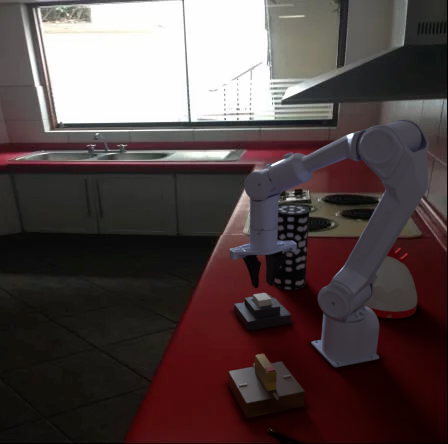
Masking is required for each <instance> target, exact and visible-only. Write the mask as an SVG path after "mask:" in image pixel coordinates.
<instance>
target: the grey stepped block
mask: <svg viewBox="0 0 448 444" xmlns="http://www.w3.org/2000/svg"><path fill="white" fill-rule="evenodd" d="M266 294H267V295H268V296H269V297H270V298H271V305H268V306H262V307H258V306H257V305H256V304H255V303H254V302H253V296H248V297H244V302H238V303H234V307H233V308H234V309H233V311H234V314H235V315H236V316H237V318H238V319H239V320H240V322H241V323H242V325H243V326H244V327H245V329H246V330H247V331H253V330H259V329H265V328H270V327H276V326H283V325H288V324H291V323H292V313H290V312H289V311H288V310H287V308H286V307H284V305H282V303H280V302H279V301H278V300H277V298H275V297H272V296H271V295H270V294H269V293H266Z"/></svg>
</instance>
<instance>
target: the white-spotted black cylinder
mask: <svg viewBox="0 0 448 444" xmlns="http://www.w3.org/2000/svg"><path fill="white" fill-rule="evenodd" d="M310 212H311V211H310V208H309V207H307V206H303V205H299V204H282V205H278V234H277V241H291V240H292V241H294V242H295V243H297V249H296V252H291V251H287V252H283V253H282V254H283V255H284V256H285V261H284V263H283V264H282V265H281V267H280V268H279V270H278V272H277V275H276V278H275V281H274V284H273V286H275V287H277V288H279V289H284V290H300V289H302V288H303V287H305V286H306V279H307V265H308V264H307V262H308V245H309V243H308V242H309V228H310V227H309V226H310Z"/></svg>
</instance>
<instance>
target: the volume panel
mask: <svg viewBox="0 0 448 444" xmlns="http://www.w3.org/2000/svg"><path fill="white" fill-rule="evenodd" d="M270 363H271V365H272V366H273V367H274V369H275V370H276V372H277V378H276V390H271V391H267V390H266V389H265V387H264V386H263V384H262V382H261V381H260V379H259V378H258V376H257V375H256V373H255V362H254V363H252V365H253V366H250V367H245V368H240V369H234V370H229V371H228V387H229V389H230V391H231V392H232V394H233V396H234V399H235V400H236V402H237V404H238V405H239V407H240V409H241V411H242V413H243V415H244V416H245V418H246V419H250V418H255V417H260V416H265V415H270V414H275V413H279V412H284V411H288V410H293V409H298V408H302V407H304V406H305V394H306V391H305V390H304V388H303V387H302V385H301V384H300V383H299V382H298V381H297V379H296V378H295V376H294V375H293V374H292V373H291V372H290V370H289V369H288V368H287V367H286V365H285V364H284V362H283V361H277V362H270Z"/></svg>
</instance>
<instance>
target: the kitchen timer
mask: <svg viewBox="0 0 448 444" xmlns="http://www.w3.org/2000/svg"><path fill="white" fill-rule="evenodd" d="M394 245H395V244H394ZM394 245H393V246H392V248H391V249H390V251H389V253H388V254H387V256H386V258H385V259H384V261H383V263H382V264H381V266H380V267H379V269H378V271H377V272H376V275H377V279H376V280H375V282H374V286H373V288H374V292H373V296H372V297H371V299H370V300H368V301H367V302H365V303H366V304H365V306H366V307H369V308H370V309H372V310H373V312H374V313H375V314H376V316H377V318H378V317H379V318H383V319H385V318H386V319H403V318H407V317H411V316H413V315H414V314H415V313H416V311H417V307H418V293H417V289H416V284H415V281H414V278H413V275H412V273H411V272H410V270H409V268H408V267H407V266H406V264H405V263H404V262H405V261H406V259H407V258H408V256H409V253H408V252H406V253H405V254H404V255H403V256H401V257H399V256H400V254H401V251H402V248H401V247H398V248H397V250H396V251H395V246H394Z"/></svg>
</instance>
